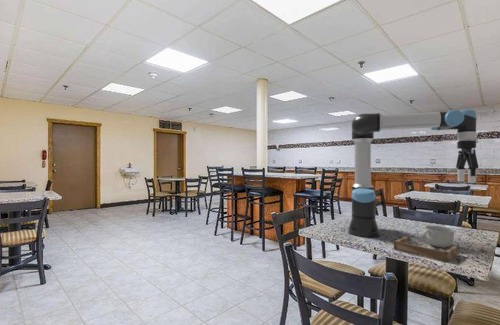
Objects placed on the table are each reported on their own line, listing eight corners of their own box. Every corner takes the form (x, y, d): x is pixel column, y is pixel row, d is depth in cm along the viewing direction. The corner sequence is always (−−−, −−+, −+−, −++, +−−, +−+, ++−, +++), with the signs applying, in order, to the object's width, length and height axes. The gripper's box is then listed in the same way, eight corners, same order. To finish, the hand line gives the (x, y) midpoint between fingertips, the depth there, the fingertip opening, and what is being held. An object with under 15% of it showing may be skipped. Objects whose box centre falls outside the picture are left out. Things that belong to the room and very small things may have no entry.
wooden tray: (406, 243, 124) (406, 236, 124) (457, 254, 109) (457, 246, 109) (393, 249, 116) (393, 241, 116) (447, 262, 100) (447, 253, 100)
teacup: (441, 242, 126) (441, 225, 126) (460, 249, 116) (460, 231, 116) (413, 242, 126) (413, 225, 126) (429, 250, 115) (429, 231, 115)
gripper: (487, 138, 123) (487, 183, 123) (465, 142, 147) (465, 181, 147) (467, 138, 126) (467, 183, 126) (449, 142, 149) (448, 180, 149)
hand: (466, 182), depth 136 cm, fingers open, 13 cm apart
